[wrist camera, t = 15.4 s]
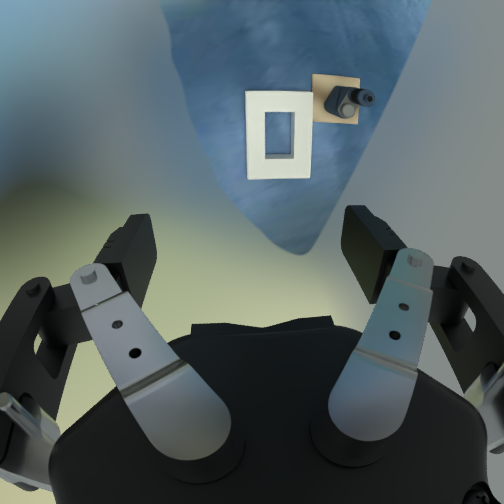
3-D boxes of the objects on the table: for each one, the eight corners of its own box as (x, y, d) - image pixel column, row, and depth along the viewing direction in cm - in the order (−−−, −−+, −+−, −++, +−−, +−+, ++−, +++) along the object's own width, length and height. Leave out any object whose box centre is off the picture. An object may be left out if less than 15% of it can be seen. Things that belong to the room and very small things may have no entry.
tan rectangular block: (311, 73, 41) (312, 73, 41) (358, 78, 41) (359, 78, 41) (310, 121, 45) (311, 121, 45) (356, 123, 46) (357, 124, 45)
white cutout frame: (244, 90, 42) (245, 91, 40) (308, 91, 43) (313, 92, 40) (246, 173, 50) (247, 179, 47) (305, 172, 50) (309, 178, 48)
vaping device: (349, 90, 42) (382, 97, 32) (332, 116, 44) (361, 129, 34) (336, 82, 41) (367, 85, 31) (319, 107, 44) (346, 117, 34)
